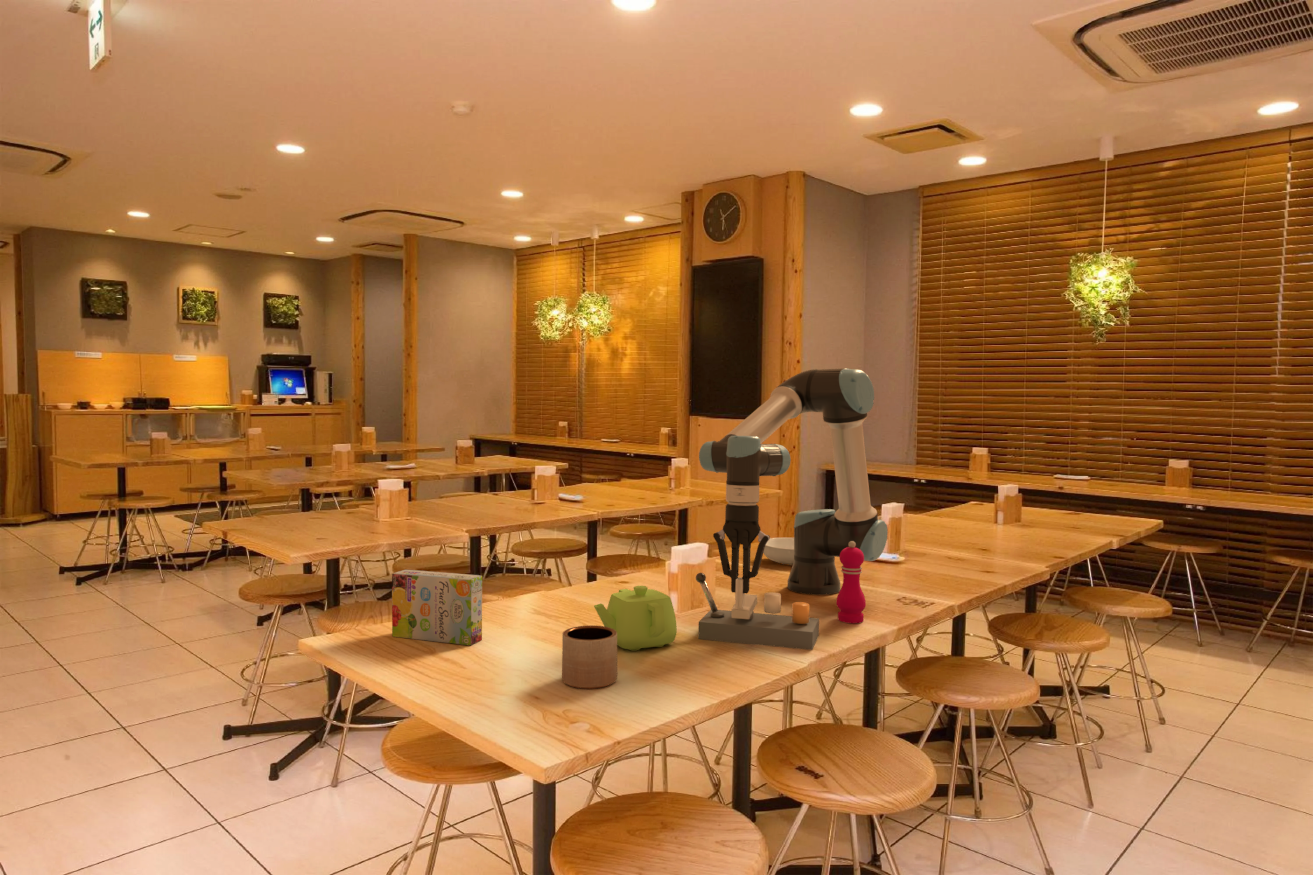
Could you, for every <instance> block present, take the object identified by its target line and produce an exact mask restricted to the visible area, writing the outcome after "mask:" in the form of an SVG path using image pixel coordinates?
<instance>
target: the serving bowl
mask: <svg viewBox="0 0 1313 875" xmlns="http://www.w3.org/2000/svg"><path fill="white" fill-rule="evenodd" d="M763 556H765V557H766V558H767V559H769V560H770V561H773V562H775V563H778V564H780V563H782V564H781V565H784V564H789V565H788V566H793V563H794V537H770V539H769V541H768V542H767V543H766V545H765V548H764V552H763Z"/></svg>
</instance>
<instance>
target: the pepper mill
mask: <svg viewBox="0 0 1313 875" xmlns="http://www.w3.org/2000/svg"><path fill="white" fill-rule="evenodd" d="M848 545H849V547H847V548H845V549H843V550H842V551H841V553H840V557H838V558H839V562H840V563H841V564H842V565H841V573H842V576H843V578H842V585H841V586H840V591H839V592H838V594H837V597H836V600H835V603H836V607H837V608H838V609H839V611H838V612H837V619H838V622H842V623H845V624H860V623H863V622H864V619H865V618H864V613H863V611H864V609H865V608H866V604H867V603H866V600H867V599H866V597H865V594H864V592H863V590H862V587H861V583H860V582H861V581H860V577H861V574H862V572H863V571H862V569H863V567H862V565H863V564H864V562H865V561H864V554H863V552H862V551H861V550H860V549H858V548H855V546H856V544H855V542H854V541H850V542H849V544H848Z"/></svg>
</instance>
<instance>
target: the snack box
mask: <svg viewBox="0 0 1313 875" xmlns="http://www.w3.org/2000/svg"><path fill="white" fill-rule="evenodd" d="M391 575H392V576H391V607H392V608H391V626H392V627H391V628H392V630H391V632H392V633H391V635H392V637H393V638H402V639H403V638H404V639H412V640H421V641H429V642H438V643H447V644H454V645H455V644H456V645H464V646H472V645H474V644H476V643H479V642H481V641H483V575H479V574H465V573H455V572H442V571H441V572H439V571H427V570H415V569H403V570H399V571H396V572H393V573H392V574H391Z"/></svg>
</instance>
